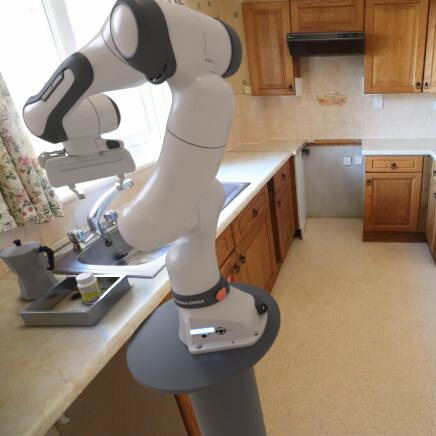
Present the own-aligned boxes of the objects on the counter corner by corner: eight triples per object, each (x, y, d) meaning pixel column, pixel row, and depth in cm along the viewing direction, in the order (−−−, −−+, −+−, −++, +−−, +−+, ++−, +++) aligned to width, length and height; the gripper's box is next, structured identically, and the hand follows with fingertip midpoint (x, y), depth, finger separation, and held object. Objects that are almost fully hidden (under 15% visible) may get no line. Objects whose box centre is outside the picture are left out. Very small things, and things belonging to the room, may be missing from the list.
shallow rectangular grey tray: (130, 286, 100) (126, 274, 98) (93, 325, 84) (87, 312, 83) (72, 287, 100) (67, 275, 98) (25, 326, 85) (18, 312, 83)
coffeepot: (7, 301, 95) (-23, 248, 88) (33, 282, 104) (8, 233, 96) (58, 299, 95) (32, 246, 87) (80, 280, 104) (58, 231, 96)
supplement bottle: (92, 294, 97) (82, 270, 93) (107, 293, 97) (98, 270, 93) (80, 304, 93) (69, 280, 89) (96, 304, 92) (86, 280, 89)
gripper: (35, 154, 77) (57, 207, 83) (129, 140, 89) (143, 187, 95) (33, 150, 81) (55, 201, 87) (123, 137, 94) (137, 183, 99)
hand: (102, 194), depth 91 cm, fingers open, 8 cm apart
